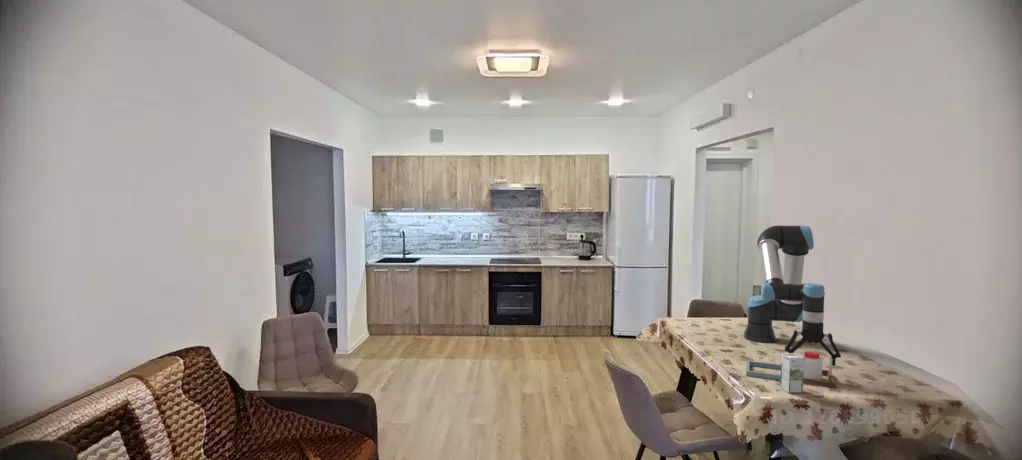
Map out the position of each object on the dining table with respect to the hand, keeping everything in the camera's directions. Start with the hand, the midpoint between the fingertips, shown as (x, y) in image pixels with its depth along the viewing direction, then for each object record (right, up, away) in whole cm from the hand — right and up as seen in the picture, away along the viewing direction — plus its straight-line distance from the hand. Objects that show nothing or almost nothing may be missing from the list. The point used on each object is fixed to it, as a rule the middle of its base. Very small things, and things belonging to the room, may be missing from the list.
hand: (811, 370), depth 204 cm
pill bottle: (0, -4, 0) cm, 4 cm away
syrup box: (-16, -5, -12) cm, 20 cm away
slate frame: (-15, -3, +8) cm, 17 cm away
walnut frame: (0, -3, 0) cm, 3 cm away
